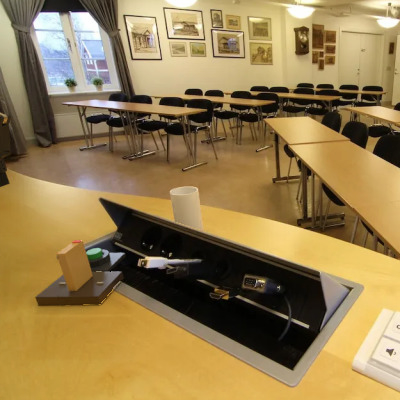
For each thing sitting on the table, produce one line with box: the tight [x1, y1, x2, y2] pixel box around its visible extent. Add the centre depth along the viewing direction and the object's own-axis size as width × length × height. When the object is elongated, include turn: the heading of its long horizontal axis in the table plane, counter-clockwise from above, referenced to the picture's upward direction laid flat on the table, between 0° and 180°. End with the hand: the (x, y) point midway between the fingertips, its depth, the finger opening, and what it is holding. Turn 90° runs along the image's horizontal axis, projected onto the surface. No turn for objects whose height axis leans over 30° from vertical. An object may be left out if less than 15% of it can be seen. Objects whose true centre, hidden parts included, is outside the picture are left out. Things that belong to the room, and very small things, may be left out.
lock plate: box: [34, 271, 125, 307], centre depth 78 cm, size 14×10×3 cm
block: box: [88, 249, 127, 272], centre depth 89 cm, size 11×9×3 cm
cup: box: [169, 185, 205, 232], centre depth 103 cm, size 8×8×16 cm
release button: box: [86, 247, 103, 260], centre depth 88 cm, size 4×4×2 cm
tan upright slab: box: [56, 239, 93, 291], centre depth 75 cm, size 6×2×10 cm, turn 1°
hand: (1, 185), depth 77 cm, fingers closed
